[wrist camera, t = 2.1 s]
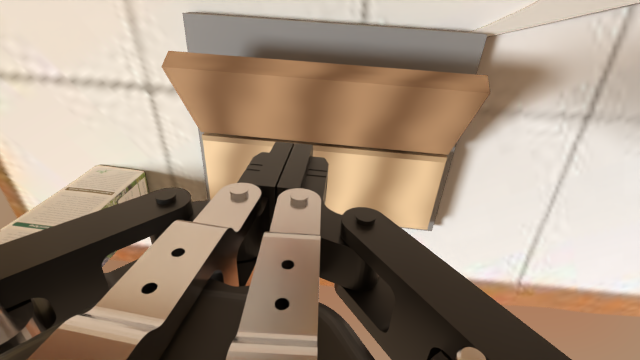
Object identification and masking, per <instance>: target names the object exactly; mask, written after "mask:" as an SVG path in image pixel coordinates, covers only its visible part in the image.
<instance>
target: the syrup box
mask: <svg viewBox="0 0 640 360" xmlns="http://www.w3.org/2000/svg"><path fill="white" fill-rule="evenodd" d="M148 193H149V191H148V186H147V180H146V175H145V172H144V171H140V170H134V169H127V168H119V167H111V166H102V165H96V166H94V167H93V168H92V169H90V170H89V171H87V172H86V173H85V174H83V175H82V176H80V177H79V178H77V179H76V180H75V181H73V182H72V183H70V184H69V185H67V186H66V187H64V188H63V189H61V190H60V191H58V192H57V193H55V194H54V195H52V196H51V197H49V198H48V199H46V200H45V201H43V202H42V203H40V204H39V205H37V206H36V207H34V208H33V209H31V210H30V211H28V212H27V213H25V214H24V215H22V216H21V217H19V218H18V219H16V220H14V221H13V222H11V223H10V224H8V225H7V226H5V227H4V228H2V229H1V230H0V245H1V244H3V243H6V242H9V241H12V240H15V239H18V238H21V237H24V236H27V235H29V234H32V233H35V232H38V231H41V230H44V229H47V228H50V227H53V226H56V225H58V224H61V223H64V222H67V221H70V220H73V219H76V218H79V217H82V216H84V215H87V214H90V213H93V212H96V211H99V210H102V209H105V208H108V207H111V206H113V205H116V204H119V203H122V202H125V201H128V200H131V199H134V198H137V197H139V196H142V195H145V194H148ZM115 252H116V251H115ZM115 252H113V253H111V254H109V255H108V256H107V257H106V258H105V259H104V260H103V262H102V267H103V265H104V264H105V263H106V262H107V261H108V260H109V259H110V258H111V257H112V256H113V255H114V254H115ZM33 299H34V298H33Z"/></svg>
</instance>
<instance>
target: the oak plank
mask: <svg viewBox="0 0 640 360" xmlns="http://www.w3.org/2000/svg"><path fill="white" fill-rule="evenodd" d="M202 140H203V147H204V154H205V162H206V169H207V177H208V185H209V192H210V200H211V199H212V198H213V197H214V196H215V195H216V194H217V192H218V191H219V190H220V189H221V188H223V187H225V186H227V185H230V184H234V183H237V182H238V181H239V179H240V177H241V176H242V174H243V173H244V171H245V170H246V168H247V166H248V165H249V163H250V161H251V160H252V158H253V157H254V156H256V155H258V154H259V153H261V152H268V153H270V151H271V149H272V147H273V145H274V144H275V142H287V143H294V144H295V143H299V144H310V145H313V157H323V158H325V159H326V161H327V162H328V164H329V167H328V180H327V193H326V201H325V205H326V207H328V208H329V209H330V210H332V211H334V212H336V213H338V214H341V215H343V213H344V212H345V211H347V210H349V209H351V208H355V207H367V208H371V209H374V210H377V211H379V212H381V213H382V214H383V215H385V216H386V217H387V218H389V219H390V220H391V221H393V222H394V223H395V224H396V225H398V226H399V227H405V228H414V229H424V230H427V229H428V225H429V221H430V218H431V214H432V210H433V207H434V203H435V199H436V196H437V192H438V188H439V185H440V181H441V178H442V174H443V170H444V167H445V163H446V160H447V156H446V155H445V154H435V153H424V152H413V151H402V150H391V149H380V148H369V147H358V146H347V145H337V144H326V143H315V142H304V141H293V140H282V139H271V138H260V137H249V136H238V135H227V134H217V133H206V132H204V133H203V134H202Z"/></svg>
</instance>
